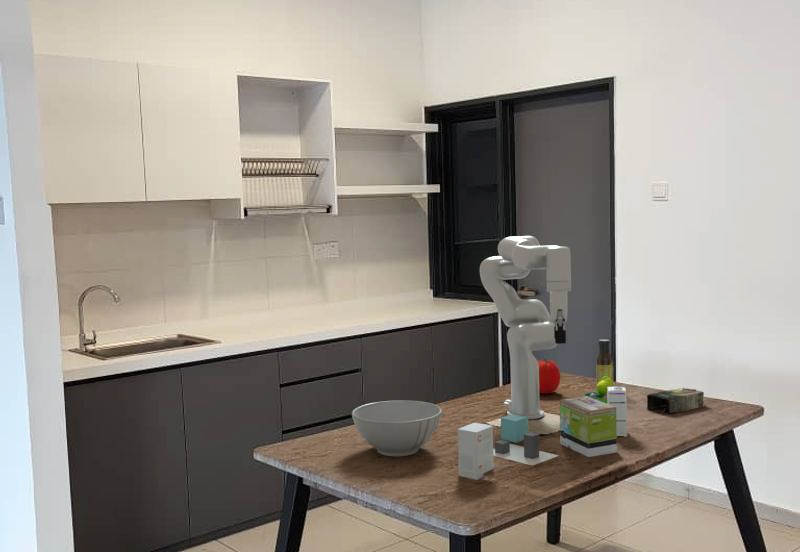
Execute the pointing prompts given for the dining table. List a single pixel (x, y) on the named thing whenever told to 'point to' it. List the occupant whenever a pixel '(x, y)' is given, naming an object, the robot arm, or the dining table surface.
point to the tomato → (548, 376)
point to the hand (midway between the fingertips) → (560, 341)
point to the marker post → (531, 445)
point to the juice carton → (676, 400)
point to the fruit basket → (601, 390)
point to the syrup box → (619, 408)
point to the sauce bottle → (604, 362)
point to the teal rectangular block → (514, 428)
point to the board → (518, 453)
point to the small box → (475, 450)
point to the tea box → (588, 426)
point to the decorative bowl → (397, 425)
